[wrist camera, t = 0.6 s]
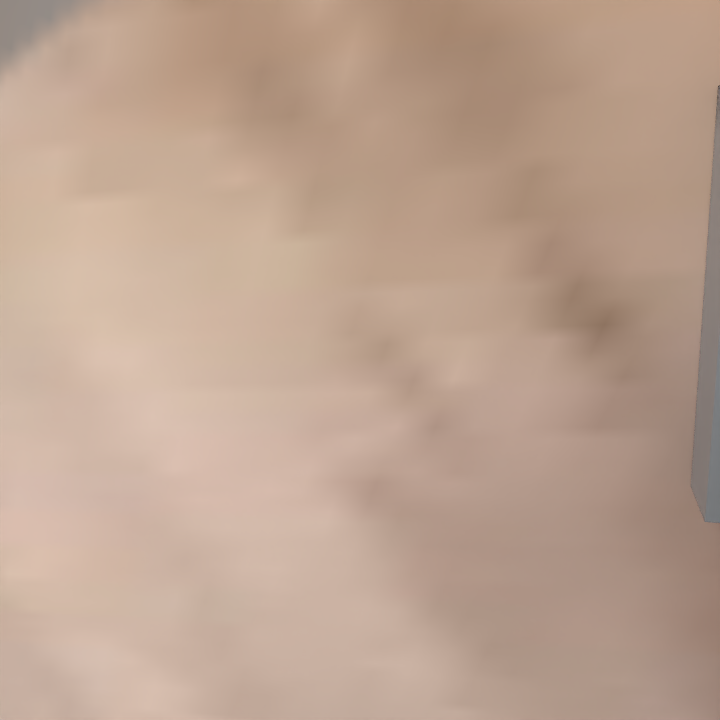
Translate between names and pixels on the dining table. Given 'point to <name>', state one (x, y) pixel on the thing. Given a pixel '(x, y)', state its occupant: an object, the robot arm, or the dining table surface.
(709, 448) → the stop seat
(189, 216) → the dining table surface
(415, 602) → the dining table surface
